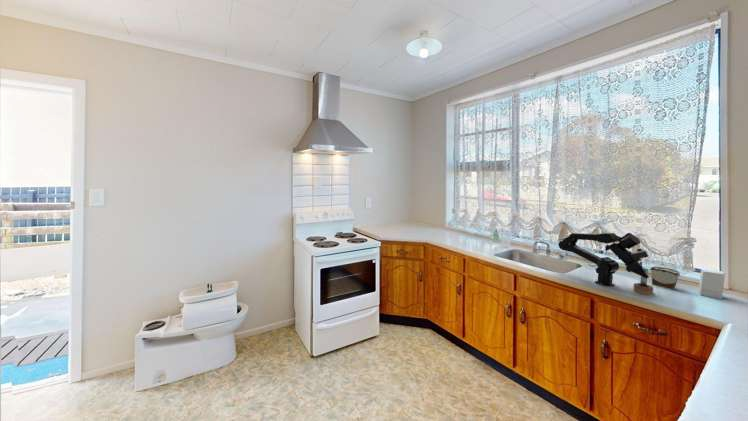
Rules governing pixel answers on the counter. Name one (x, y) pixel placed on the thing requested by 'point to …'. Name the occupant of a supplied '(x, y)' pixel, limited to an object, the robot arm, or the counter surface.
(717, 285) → the supplement box
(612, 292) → the counter surface
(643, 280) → the teal-capped metal tube
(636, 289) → the brown octagonal ring
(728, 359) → the counter surface
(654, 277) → the food container
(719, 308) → the counter surface
